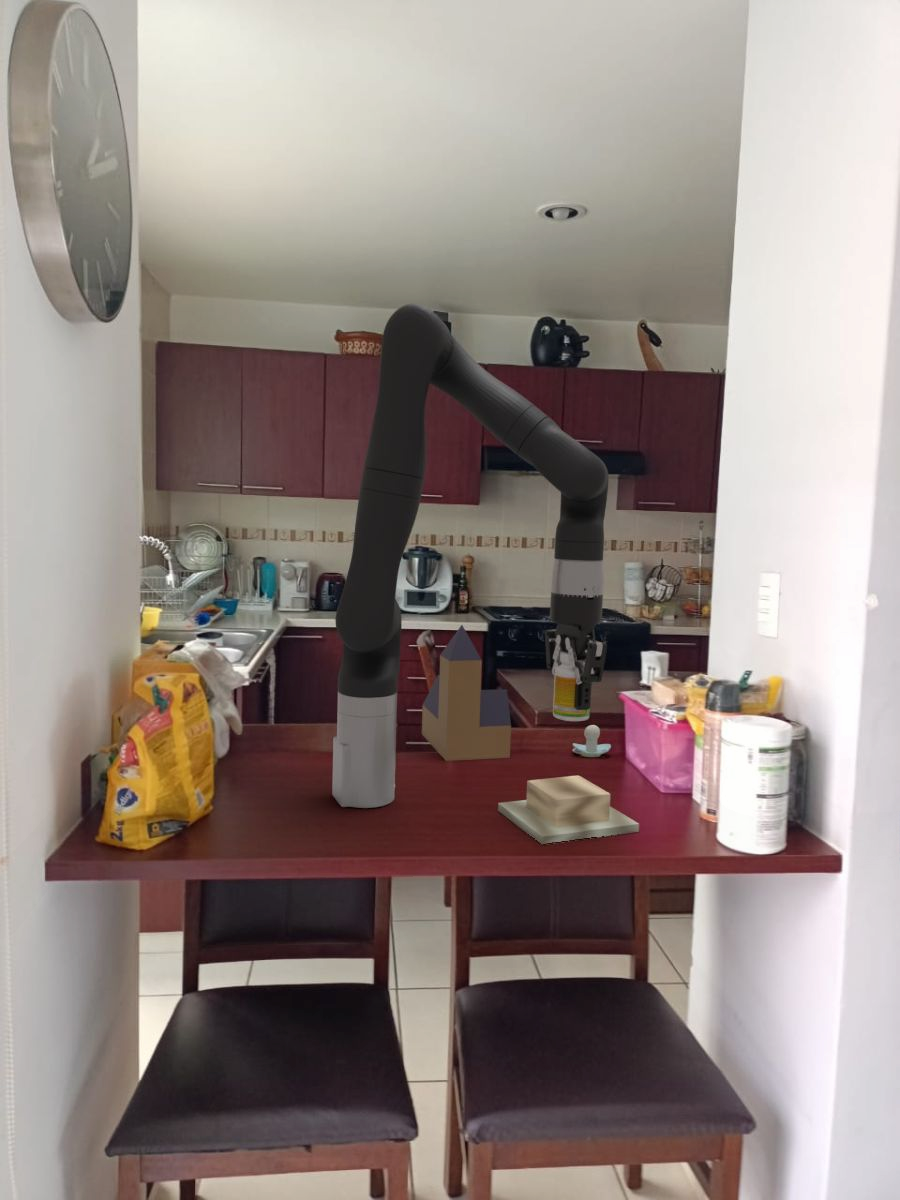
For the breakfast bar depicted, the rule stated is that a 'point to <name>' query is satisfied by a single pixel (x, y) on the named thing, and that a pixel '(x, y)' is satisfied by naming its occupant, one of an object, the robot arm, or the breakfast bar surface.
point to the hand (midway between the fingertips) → (571, 704)
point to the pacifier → (591, 743)
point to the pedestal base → (568, 831)
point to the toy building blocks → (465, 708)
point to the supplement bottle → (566, 692)
